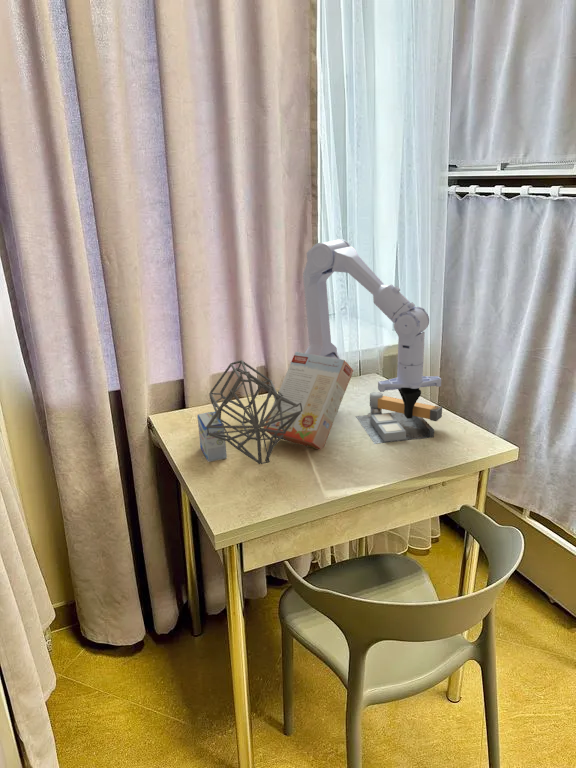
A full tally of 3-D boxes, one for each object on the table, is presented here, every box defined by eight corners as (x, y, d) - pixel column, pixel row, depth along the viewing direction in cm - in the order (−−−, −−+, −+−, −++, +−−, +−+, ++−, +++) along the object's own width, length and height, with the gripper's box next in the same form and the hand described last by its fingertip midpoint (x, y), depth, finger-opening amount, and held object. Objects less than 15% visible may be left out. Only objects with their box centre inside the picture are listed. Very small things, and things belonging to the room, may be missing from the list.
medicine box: (200, 448, 128) (196, 413, 125) (218, 444, 129) (215, 410, 126) (208, 462, 121) (204, 426, 118) (227, 458, 122) (224, 423, 119)
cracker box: (322, 452, 123) (355, 370, 128) (310, 444, 118) (344, 358, 123) (274, 438, 131) (306, 360, 136) (261, 429, 127) (295, 349, 132)
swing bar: (367, 406, 137) (367, 395, 136) (373, 402, 139) (373, 391, 138) (436, 421, 126) (437, 409, 125) (441, 416, 129) (442, 404, 128)
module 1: (376, 430, 130) (376, 422, 129) (370, 422, 134) (370, 414, 134) (396, 428, 130) (397, 420, 130) (390, 420, 135) (390, 412, 134)
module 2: (384, 441, 124) (384, 433, 123) (377, 432, 129) (377, 424, 128) (405, 439, 125) (405, 430, 124) (398, 430, 129) (398, 422, 129)
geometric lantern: (248, 427, 143) (269, 478, 110) (197, 396, 139) (202, 439, 105) (282, 378, 142) (313, 413, 109) (231, 345, 138) (248, 371, 104)
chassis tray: (374, 447, 124) (374, 433, 122) (354, 418, 140) (354, 405, 139) (433, 441, 125) (434, 427, 124) (407, 412, 141) (407, 400, 140)
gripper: (385, 369, 120) (383, 426, 125) (448, 364, 122) (444, 420, 126) (375, 360, 126) (374, 414, 131) (435, 355, 128) (432, 409, 133)
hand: (408, 416), depth 129 cm, fingers closed
